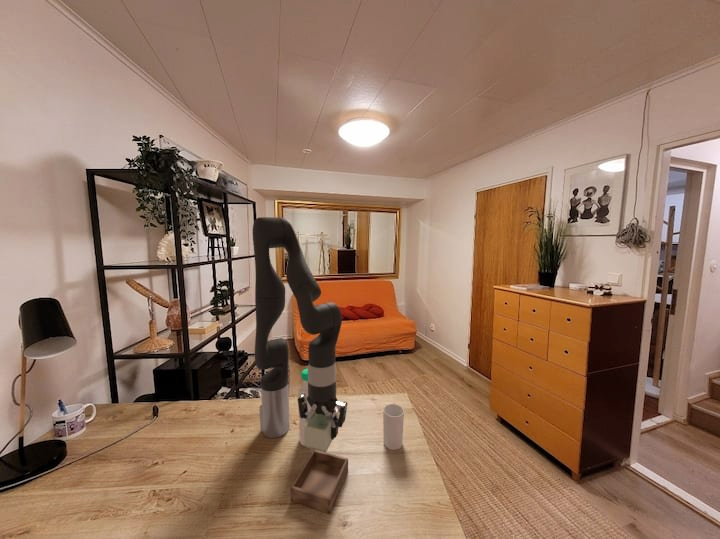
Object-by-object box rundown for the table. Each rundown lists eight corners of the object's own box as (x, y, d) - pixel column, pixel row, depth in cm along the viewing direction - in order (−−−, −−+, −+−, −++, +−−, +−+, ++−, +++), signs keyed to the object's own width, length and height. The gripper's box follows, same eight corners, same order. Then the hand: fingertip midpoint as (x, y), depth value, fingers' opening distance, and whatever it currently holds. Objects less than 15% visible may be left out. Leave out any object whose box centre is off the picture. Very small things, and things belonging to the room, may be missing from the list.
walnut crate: (290, 501, 71) (290, 487, 70) (314, 461, 83) (313, 449, 83) (330, 514, 67) (329, 500, 67) (348, 470, 80) (348, 458, 79)
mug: (402, 452, 87) (403, 418, 85) (382, 449, 88) (382, 415, 86) (403, 430, 97) (403, 399, 95) (384, 427, 98) (384, 397, 96)
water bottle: (324, 436, 94) (323, 368, 90) (312, 450, 87) (311, 378, 84) (307, 430, 96) (306, 364, 93) (295, 443, 90) (292, 373, 87)
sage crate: (304, 446, 71) (304, 426, 70) (319, 423, 79) (319, 405, 78) (325, 452, 69) (325, 431, 68) (338, 428, 77) (338, 409, 77)
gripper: (290, 380, 70) (292, 438, 72) (342, 390, 66) (342, 451, 68) (304, 366, 77) (305, 420, 79) (352, 374, 73) (351, 430, 75)
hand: (322, 434), depth 74 cm, fingers closed on sage crate, 6 cm apart
